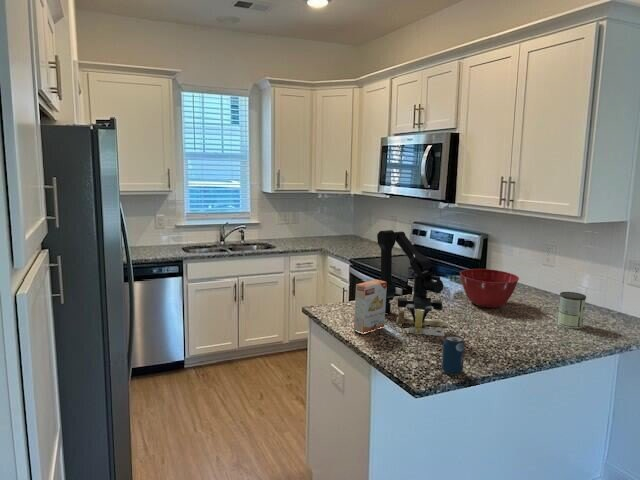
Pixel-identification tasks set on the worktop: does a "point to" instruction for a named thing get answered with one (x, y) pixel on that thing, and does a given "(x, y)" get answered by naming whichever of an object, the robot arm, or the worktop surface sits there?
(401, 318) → the trammel beam
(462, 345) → the soda can
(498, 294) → the mixing bowl
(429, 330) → the bolt plate
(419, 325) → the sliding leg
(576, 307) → the coffee can
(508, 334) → the worktop surface
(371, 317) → the cracker box
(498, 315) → the worktop surface
